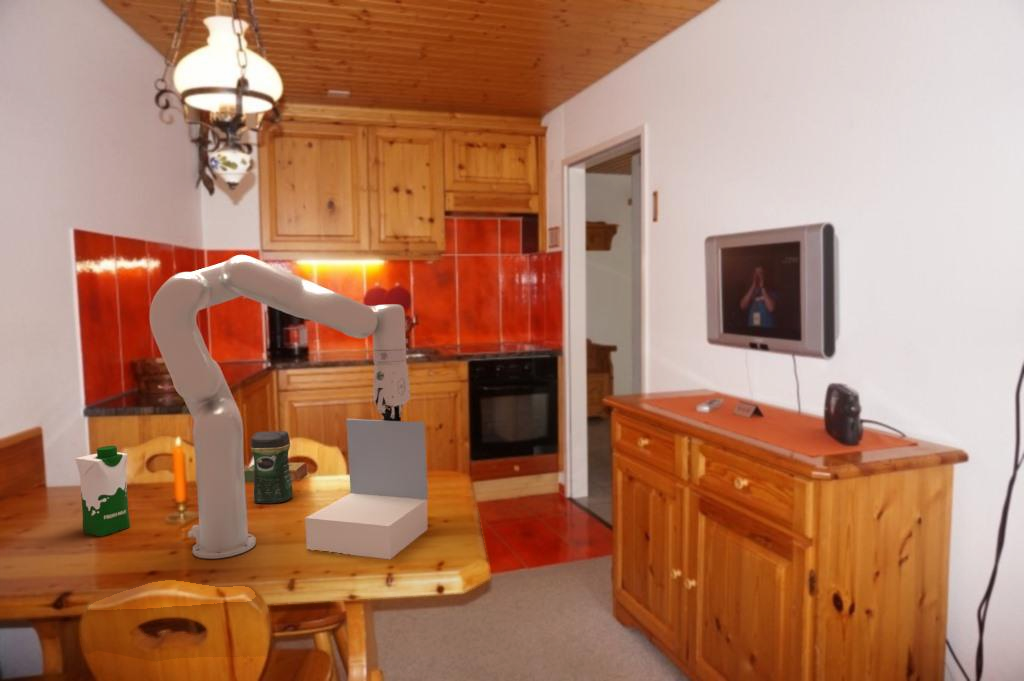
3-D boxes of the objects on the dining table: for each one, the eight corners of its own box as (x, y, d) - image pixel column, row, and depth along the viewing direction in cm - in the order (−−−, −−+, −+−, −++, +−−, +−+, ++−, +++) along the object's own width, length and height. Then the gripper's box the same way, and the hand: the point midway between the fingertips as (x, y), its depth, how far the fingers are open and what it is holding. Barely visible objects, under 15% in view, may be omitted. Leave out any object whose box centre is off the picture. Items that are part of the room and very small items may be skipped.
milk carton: (100, 539, 153) (94, 452, 152) (75, 533, 157) (70, 449, 156) (136, 526, 161) (131, 444, 160) (112, 521, 165) (107, 441, 164)
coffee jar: (296, 495, 184) (293, 428, 183) (285, 504, 176) (282, 434, 175) (262, 495, 184) (258, 428, 183) (249, 504, 177) (245, 434, 175)
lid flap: (346, 419, 159) (355, 415, 163) (350, 493, 161) (359, 487, 165) (423, 422, 153) (431, 418, 157) (426, 499, 155) (434, 493, 159)
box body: (306, 549, 144) (305, 517, 144) (351, 521, 161) (350, 493, 161) (390, 559, 138) (388, 526, 138) (427, 529, 155) (426, 499, 155)
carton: (297, 483, 197) (296, 469, 197) (243, 483, 198) (243, 469, 198) (307, 475, 205) (306, 461, 205) (256, 475, 206) (255, 462, 206)
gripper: (387, 360, 150) (390, 442, 151) (419, 353, 164) (421, 428, 166) (358, 360, 152) (361, 440, 153) (391, 353, 167) (394, 426, 168)
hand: (392, 433), depth 160 cm, fingers closed
